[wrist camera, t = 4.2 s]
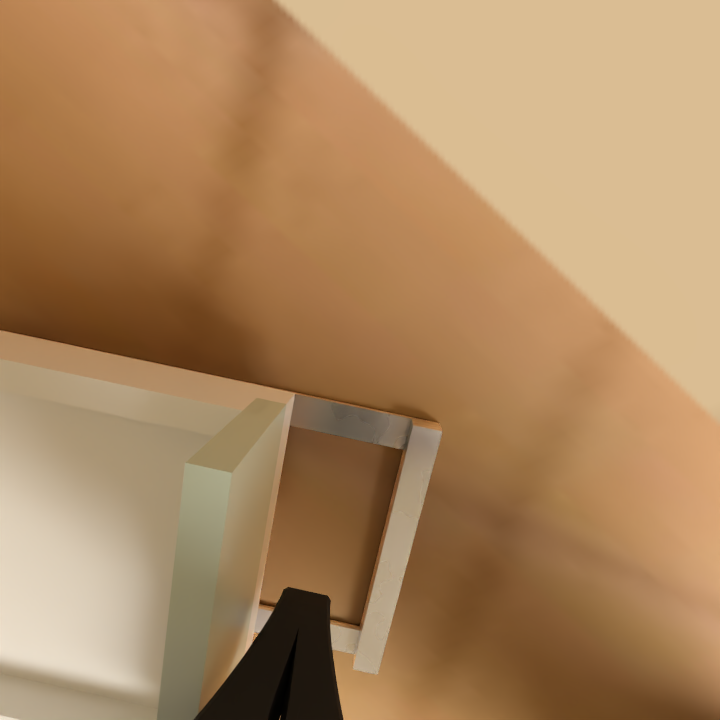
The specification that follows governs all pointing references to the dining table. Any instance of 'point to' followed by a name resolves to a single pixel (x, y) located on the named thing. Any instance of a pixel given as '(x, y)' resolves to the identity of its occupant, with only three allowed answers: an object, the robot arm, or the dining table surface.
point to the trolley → (128, 530)
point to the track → (402, 516)
